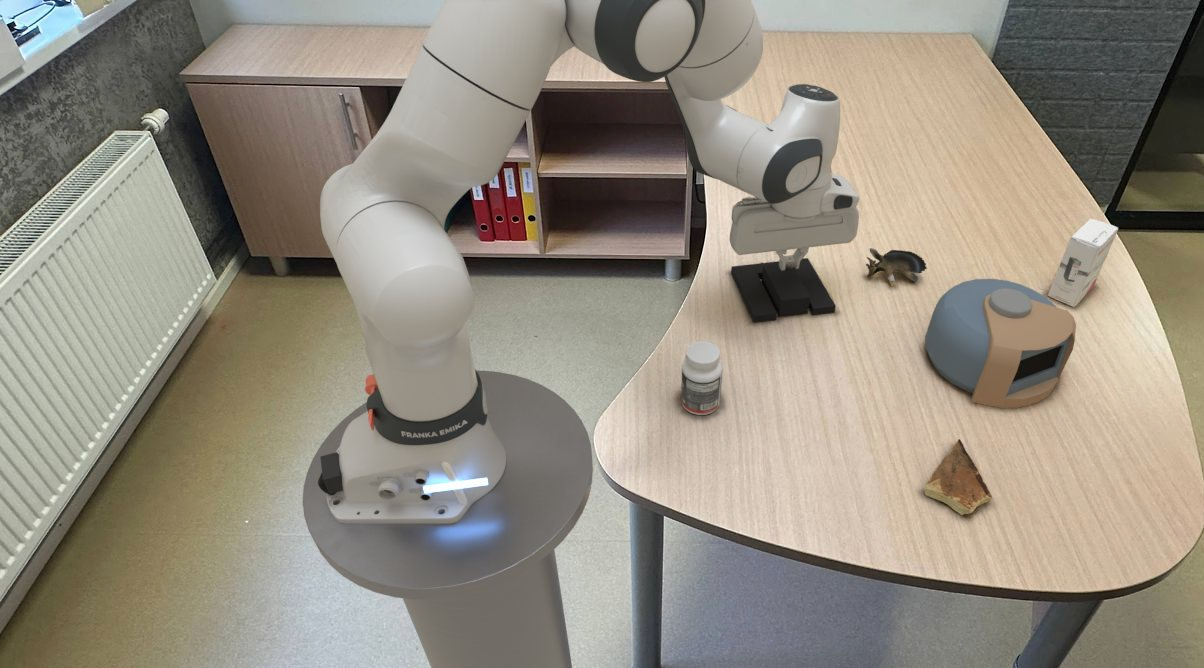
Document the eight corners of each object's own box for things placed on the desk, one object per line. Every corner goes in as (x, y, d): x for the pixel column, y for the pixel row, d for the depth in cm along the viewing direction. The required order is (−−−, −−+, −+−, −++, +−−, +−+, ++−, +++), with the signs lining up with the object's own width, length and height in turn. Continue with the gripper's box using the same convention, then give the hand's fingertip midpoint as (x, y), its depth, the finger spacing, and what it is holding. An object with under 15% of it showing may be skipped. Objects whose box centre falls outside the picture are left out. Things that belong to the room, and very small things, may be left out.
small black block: (778, 317, 129) (781, 300, 126) (761, 281, 136) (763, 265, 133) (807, 313, 129) (810, 296, 127) (788, 278, 136) (791, 261, 134)
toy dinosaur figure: (876, 292, 132) (929, 282, 131) (870, 250, 131) (924, 239, 130) (866, 288, 139) (916, 279, 139) (860, 248, 138) (911, 239, 138)
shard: (956, 445, 109) (959, 436, 107) (1009, 473, 105) (1013, 464, 104) (920, 492, 102) (923, 484, 101) (975, 523, 99) (979, 515, 98)
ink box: (1065, 274, 138) (1091, 215, 130) (1094, 286, 136) (1122, 227, 128) (1044, 296, 134) (1070, 236, 125) (1073, 308, 131) (1101, 248, 123)
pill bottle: (688, 385, 117) (690, 334, 110) (724, 394, 115) (729, 343, 108) (675, 411, 113) (676, 359, 106) (713, 420, 111) (717, 369, 105)
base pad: (753, 323, 127) (754, 315, 126) (730, 273, 137) (731, 266, 136) (834, 312, 130) (836, 305, 129) (806, 264, 140) (807, 257, 138)
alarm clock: (984, 423, 112) (1011, 360, 103) (897, 340, 125) (914, 278, 116) (1082, 384, 118) (1115, 321, 109) (989, 309, 131) (1012, 248, 122)
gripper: (738, 210, 115) (732, 286, 125) (869, 196, 118) (853, 272, 128) (727, 188, 119) (722, 263, 129) (854, 176, 123) (839, 250, 132)
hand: (788, 267), depth 128 cm, fingers closed
